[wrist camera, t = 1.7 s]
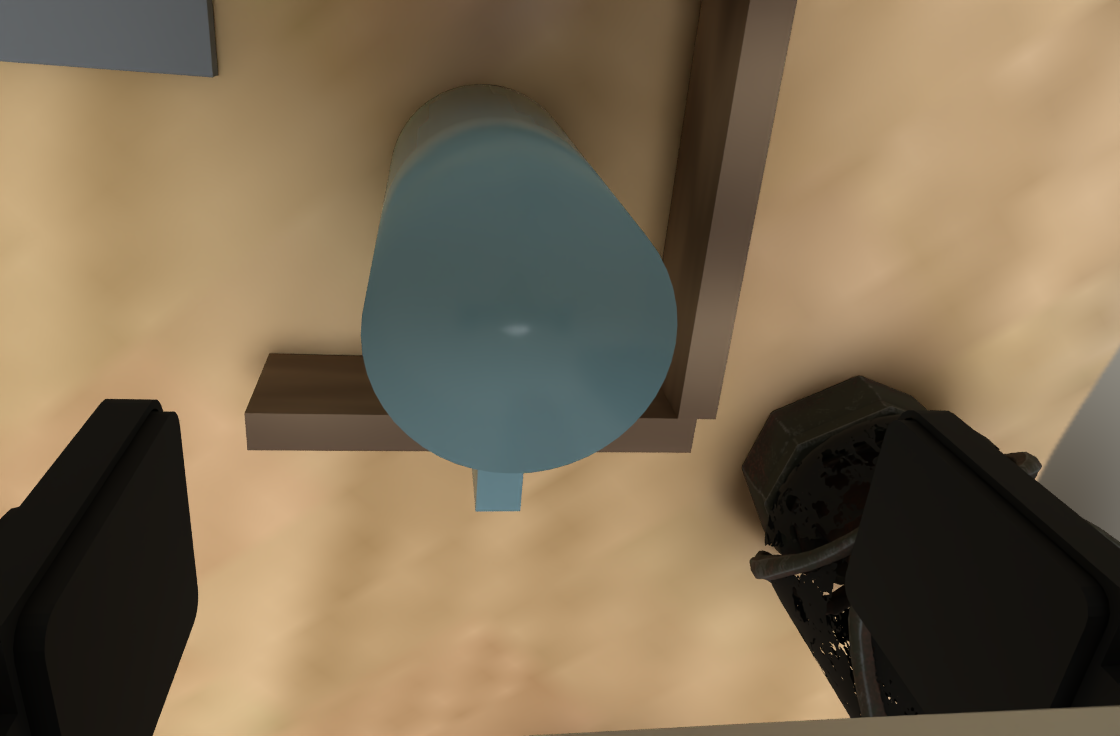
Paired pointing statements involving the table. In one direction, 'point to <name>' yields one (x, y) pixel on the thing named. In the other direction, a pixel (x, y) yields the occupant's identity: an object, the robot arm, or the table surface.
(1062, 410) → the table surface
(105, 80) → the table surface
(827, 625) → the lantern
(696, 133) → the brown u-shaped frame
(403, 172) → the jug
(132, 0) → the coaster
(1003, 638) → the robot arm
